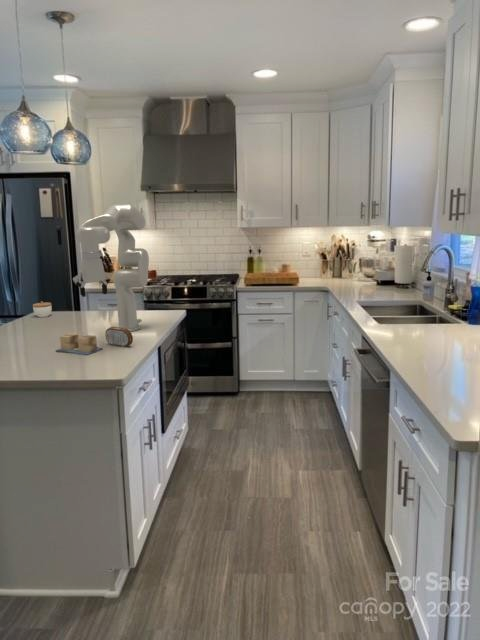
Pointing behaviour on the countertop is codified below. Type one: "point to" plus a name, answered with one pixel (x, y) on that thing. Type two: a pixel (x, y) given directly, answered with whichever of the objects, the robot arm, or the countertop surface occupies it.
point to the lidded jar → (42, 309)
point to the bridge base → (78, 344)
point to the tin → (119, 336)
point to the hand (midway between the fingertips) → (94, 295)
